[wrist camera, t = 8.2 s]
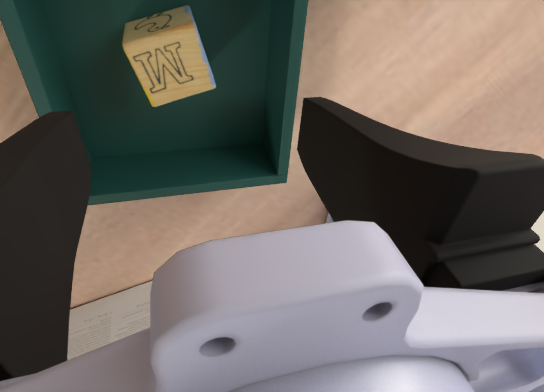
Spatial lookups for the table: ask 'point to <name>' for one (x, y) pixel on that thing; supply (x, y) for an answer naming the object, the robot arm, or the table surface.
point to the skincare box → (108, 319)
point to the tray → (174, 115)
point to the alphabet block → (168, 56)
